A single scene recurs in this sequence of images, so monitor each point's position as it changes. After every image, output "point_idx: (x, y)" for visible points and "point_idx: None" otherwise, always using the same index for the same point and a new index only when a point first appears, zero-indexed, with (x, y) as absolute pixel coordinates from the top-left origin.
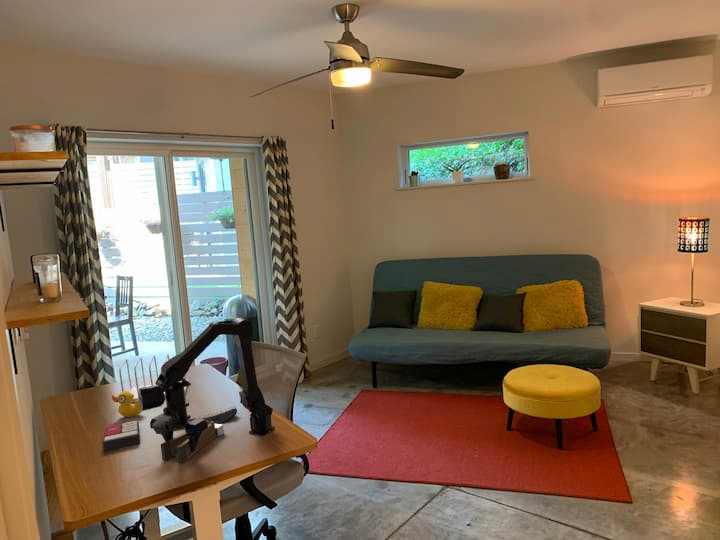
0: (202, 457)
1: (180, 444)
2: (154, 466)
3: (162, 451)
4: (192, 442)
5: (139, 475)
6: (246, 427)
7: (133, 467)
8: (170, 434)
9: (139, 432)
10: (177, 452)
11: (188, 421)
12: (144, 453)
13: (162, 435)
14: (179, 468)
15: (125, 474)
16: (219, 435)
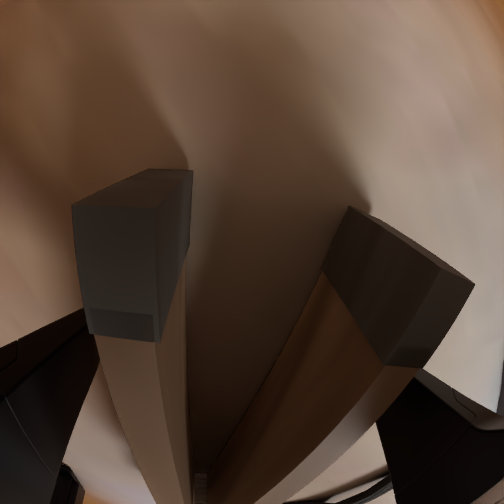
0: (68, 296)
1: (151, 322)
2: (393, 121)
3: (412, 243)
4: (4, 350)
5: (414, 4)
6: (119, 494)
7: (499, 127)
8: (409, 451)
9: (500, 405)
10: (160, 187)
11: (359, 500)
12: (492, 295)
13: (481, 409)
14: (133, 97)
15: (490, 46)
16: None
